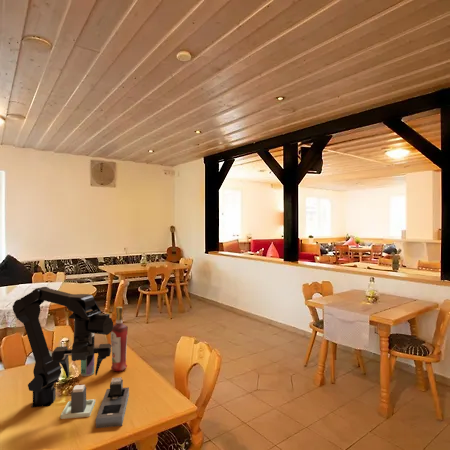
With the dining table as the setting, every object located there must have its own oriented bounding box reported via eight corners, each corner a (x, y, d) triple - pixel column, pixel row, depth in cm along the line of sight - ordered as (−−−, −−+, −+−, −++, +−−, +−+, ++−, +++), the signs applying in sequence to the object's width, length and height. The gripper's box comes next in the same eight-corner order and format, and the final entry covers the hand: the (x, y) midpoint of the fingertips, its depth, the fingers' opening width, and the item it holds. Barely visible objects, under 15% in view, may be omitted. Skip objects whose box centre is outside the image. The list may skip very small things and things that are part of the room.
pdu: (95, 429, 108) (95, 402, 108) (106, 398, 128) (106, 375, 128) (122, 427, 109) (122, 400, 109) (128, 396, 129) (128, 374, 129)
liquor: (107, 370, 153) (107, 307, 153) (120, 365, 159) (120, 304, 159) (117, 374, 148) (117, 310, 149) (130, 368, 154) (131, 306, 155)
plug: (70, 413, 116) (71, 390, 116) (74, 407, 120) (74, 384, 120) (83, 412, 117) (83, 389, 117) (86, 406, 121) (86, 384, 121)
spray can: (93, 375, 148) (93, 329, 148) (80, 377, 146) (80, 330, 146) (94, 370, 153) (94, 325, 153) (81, 371, 151) (81, 326, 151)
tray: (60, 420, 113) (60, 415, 113) (68, 406, 122) (68, 401, 122) (89, 417, 115) (89, 412, 115) (95, 403, 124) (95, 399, 124)
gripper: (47, 340, 109) (46, 389, 109) (109, 337, 114) (108, 384, 114) (55, 330, 120) (55, 374, 120) (111, 327, 125) (110, 370, 125)
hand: (82, 376), depth 120 cm, fingers open, 9 cm apart
